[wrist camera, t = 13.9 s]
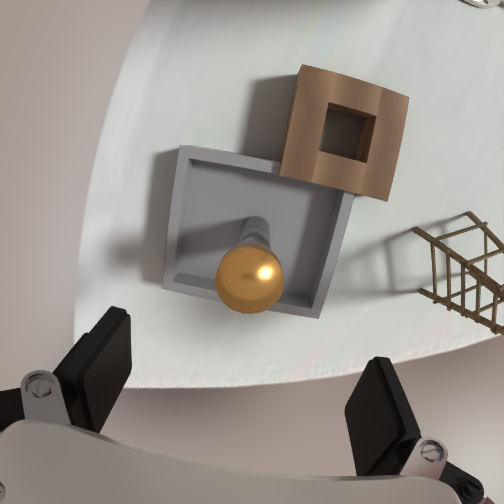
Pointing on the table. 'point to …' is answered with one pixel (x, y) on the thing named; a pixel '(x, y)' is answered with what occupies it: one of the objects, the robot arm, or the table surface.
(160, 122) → the table surface
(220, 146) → the table surface
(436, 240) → the miniature windmill
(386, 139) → the socket block
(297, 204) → the tray
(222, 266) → the pin
